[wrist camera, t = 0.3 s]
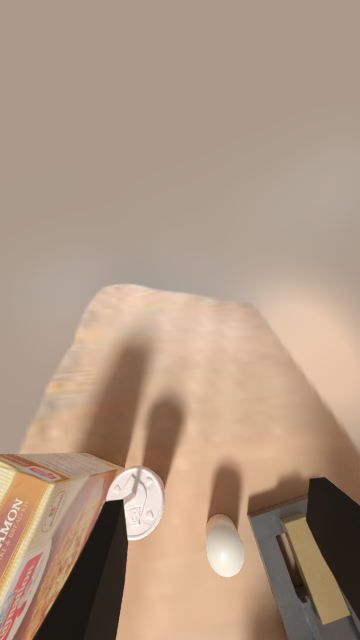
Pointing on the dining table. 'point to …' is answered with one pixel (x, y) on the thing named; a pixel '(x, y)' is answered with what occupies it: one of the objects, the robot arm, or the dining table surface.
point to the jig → (293, 604)
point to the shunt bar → (314, 570)
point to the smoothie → (139, 499)
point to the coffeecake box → (44, 530)
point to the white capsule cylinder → (224, 546)
